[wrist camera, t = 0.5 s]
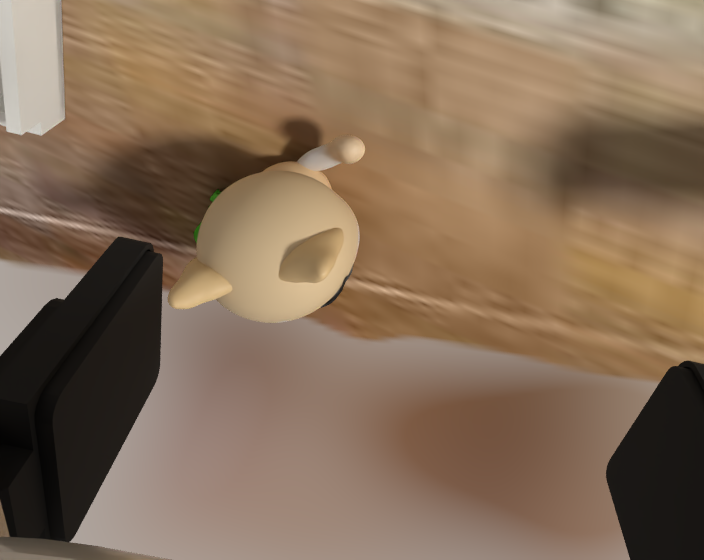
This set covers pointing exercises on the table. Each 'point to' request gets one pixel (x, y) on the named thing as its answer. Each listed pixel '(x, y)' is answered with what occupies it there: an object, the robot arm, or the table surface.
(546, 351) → the table surface
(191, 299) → the cream toy figurine
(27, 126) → the white square bin
